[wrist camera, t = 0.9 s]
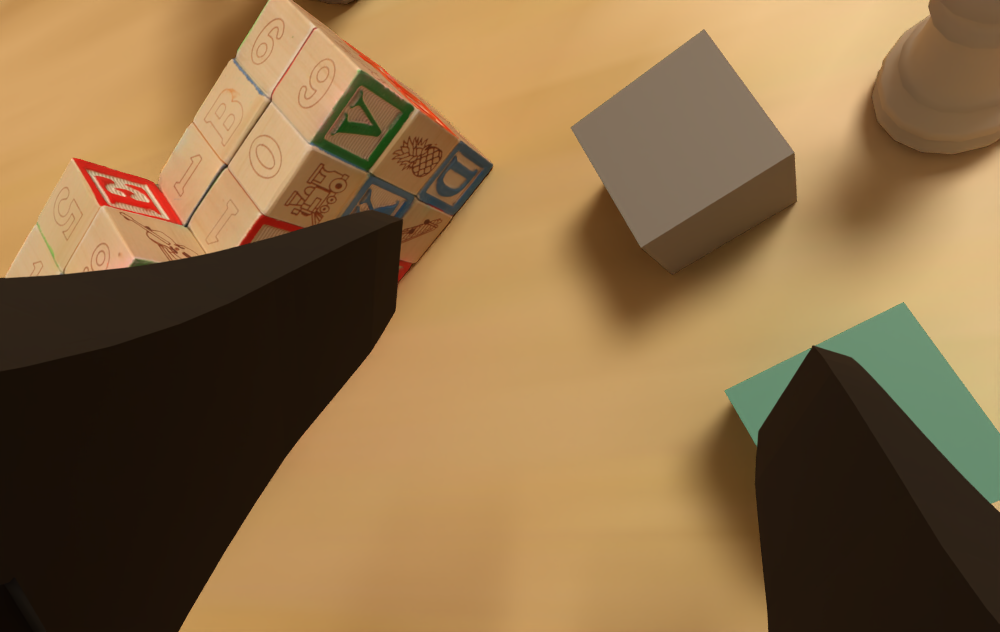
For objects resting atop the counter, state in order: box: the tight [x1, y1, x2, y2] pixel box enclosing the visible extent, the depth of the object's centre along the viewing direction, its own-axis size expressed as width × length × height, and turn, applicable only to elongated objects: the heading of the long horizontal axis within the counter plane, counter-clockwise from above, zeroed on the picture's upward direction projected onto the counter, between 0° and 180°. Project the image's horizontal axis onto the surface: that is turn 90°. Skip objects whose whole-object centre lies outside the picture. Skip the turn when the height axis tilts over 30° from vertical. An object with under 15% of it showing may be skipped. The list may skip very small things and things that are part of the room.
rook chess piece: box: [872, 0, 1000, 154], centre depth 16 cm, size 4×4×8 cm
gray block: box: [571, 30, 797, 275], centre depth 21 cm, size 5×5×5 cm
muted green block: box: [725, 302, 1000, 503], centre depth 17 cm, size 5×5×5 cm
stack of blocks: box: [5, 0, 493, 282], centre depth 26 cm, size 21×6×12 cm, turn 134°
